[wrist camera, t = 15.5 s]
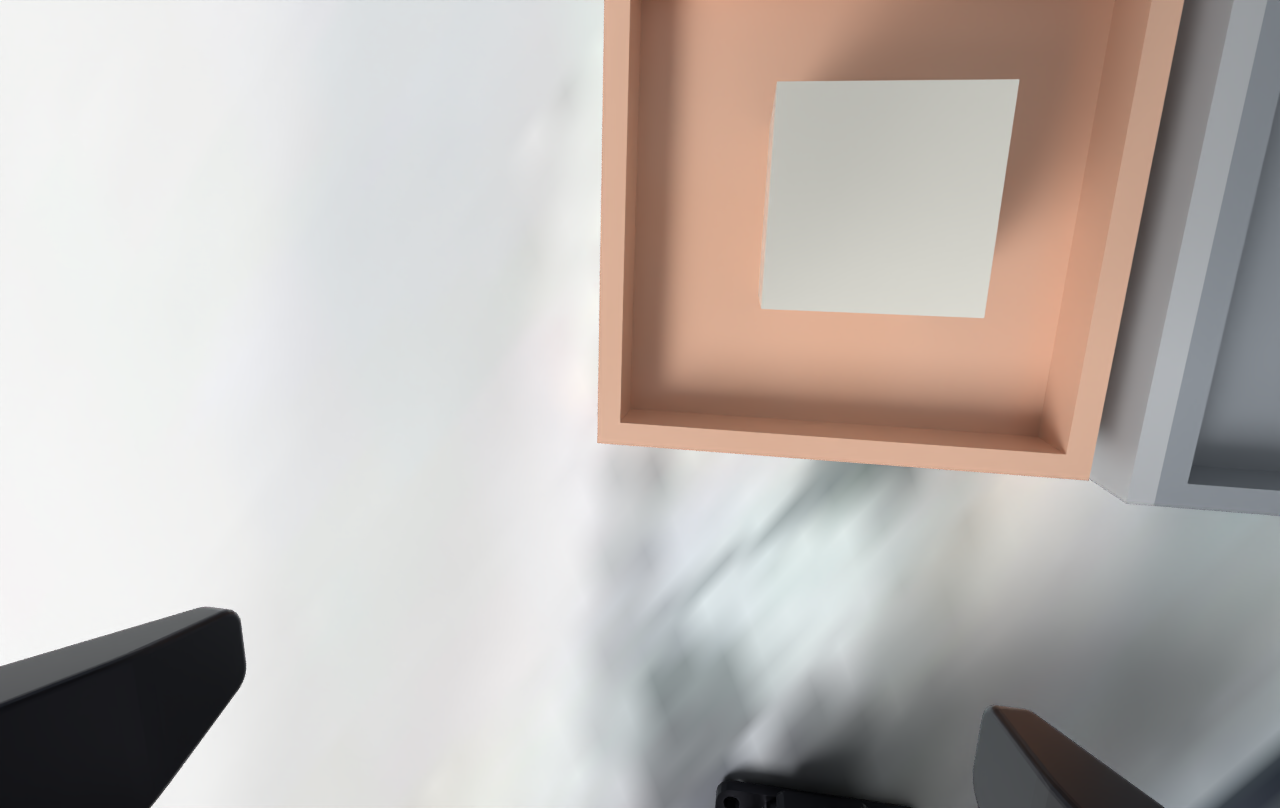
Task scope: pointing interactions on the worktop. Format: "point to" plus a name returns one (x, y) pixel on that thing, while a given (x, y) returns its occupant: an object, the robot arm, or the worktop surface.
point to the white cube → (884, 195)
